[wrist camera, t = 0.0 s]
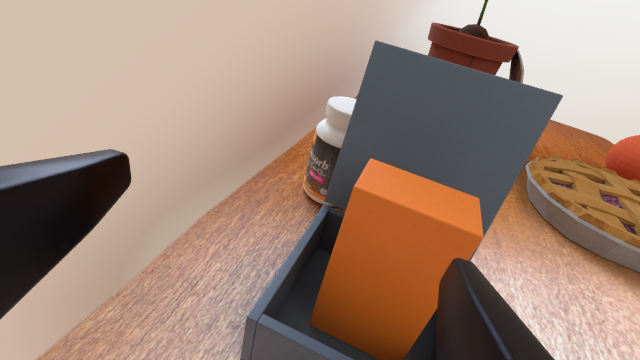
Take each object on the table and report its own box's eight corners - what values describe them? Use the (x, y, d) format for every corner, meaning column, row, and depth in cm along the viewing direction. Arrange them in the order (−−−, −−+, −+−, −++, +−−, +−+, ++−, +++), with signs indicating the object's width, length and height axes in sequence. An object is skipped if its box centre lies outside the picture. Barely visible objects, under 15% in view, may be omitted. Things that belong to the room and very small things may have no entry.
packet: (397, 369, 20) (484, 237, 14) (308, 324, 21) (353, 186, 15) (405, 323, 23) (480, 197, 17) (326, 286, 24) (370, 157, 18)
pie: (499, 161, 53) (515, 134, 50) (639, 204, 51) (664, 178, 48) (542, 249, 35) (570, 213, 32) (765, 323, 32) (816, 291, 30)
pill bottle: (293, 179, 36) (311, 92, 30) (337, 175, 38) (361, 94, 33) (316, 212, 32) (341, 118, 26) (363, 205, 35) (394, 119, 29)
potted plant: (425, 96, 78) (473, -24, 65) (516, 135, 68) (596, 1, 54) (387, 105, 66) (436, -41, 53) (491, 154, 55) (586, -13, 42)
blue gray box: (431, 470, 16) (473, 433, 14) (239, 365, 19) (246, 317, 16) (441, 303, 26) (467, 262, 23) (312, 245, 28) (323, 203, 25)
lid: (563, 95, 18) (542, 92, 22) (375, 40, 20) (383, 45, 24) (470, 261, 23) (465, 237, 26) (323, 201, 25) (336, 186, 28)
